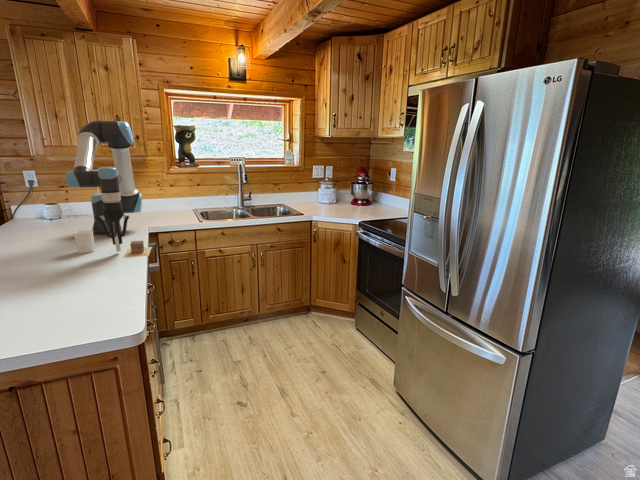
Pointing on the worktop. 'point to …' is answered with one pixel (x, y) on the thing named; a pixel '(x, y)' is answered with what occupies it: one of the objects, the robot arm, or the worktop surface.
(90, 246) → the white cup
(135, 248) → the walnut block
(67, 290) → the worktop surface
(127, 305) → the worktop surface
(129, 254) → the envelope
